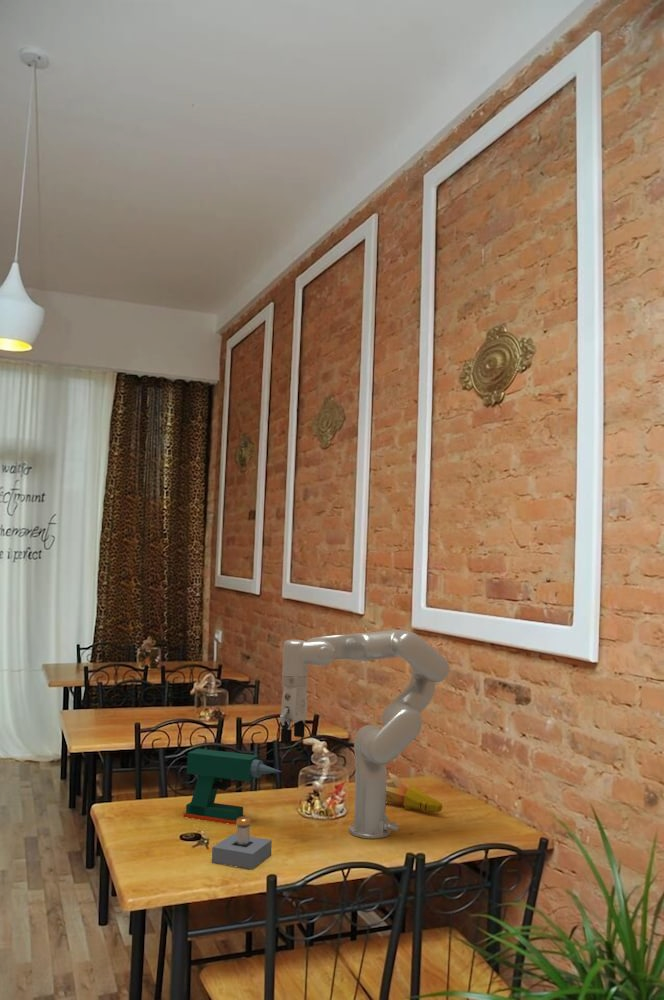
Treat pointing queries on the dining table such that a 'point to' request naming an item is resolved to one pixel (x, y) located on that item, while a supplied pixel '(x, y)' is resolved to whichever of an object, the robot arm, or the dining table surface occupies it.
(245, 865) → the block
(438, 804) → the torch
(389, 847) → the dining table surface
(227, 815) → the power tool
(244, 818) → the copper capped vial
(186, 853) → the dining table surface
